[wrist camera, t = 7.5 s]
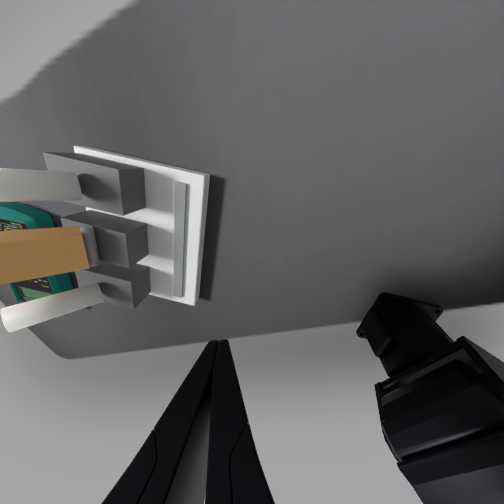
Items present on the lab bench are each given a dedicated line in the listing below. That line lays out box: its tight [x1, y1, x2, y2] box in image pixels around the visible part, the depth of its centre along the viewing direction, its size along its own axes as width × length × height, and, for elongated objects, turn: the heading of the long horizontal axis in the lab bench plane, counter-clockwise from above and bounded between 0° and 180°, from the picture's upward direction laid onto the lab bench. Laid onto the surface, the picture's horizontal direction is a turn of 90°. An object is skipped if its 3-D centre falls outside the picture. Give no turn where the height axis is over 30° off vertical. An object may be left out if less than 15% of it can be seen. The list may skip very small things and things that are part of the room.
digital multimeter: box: [0, 202, 74, 304], centre depth 25 cm, size 7×15×3 cm, turn 171°
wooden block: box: [0, 226, 100, 285], centre depth 14 cm, size 2×4×9 cm
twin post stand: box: [0, 146, 210, 333], centre depth 17 cm, size 13×15×11 cm
